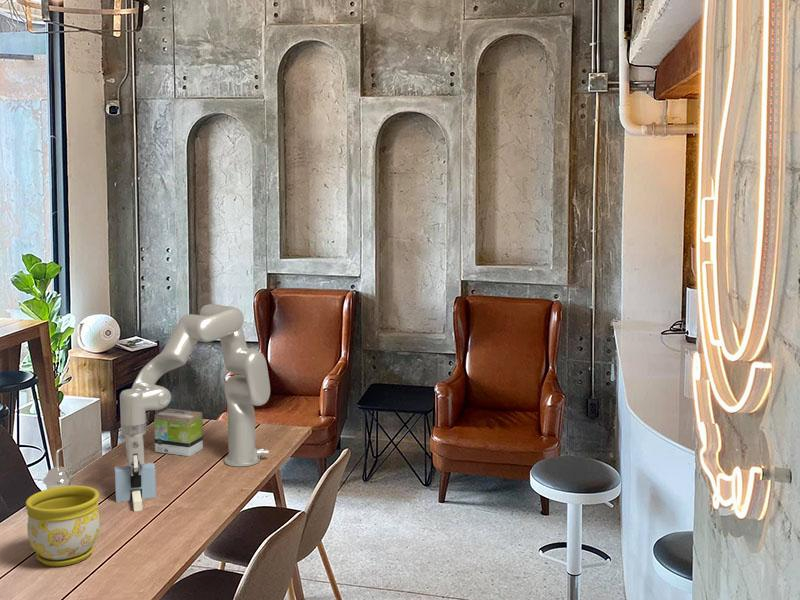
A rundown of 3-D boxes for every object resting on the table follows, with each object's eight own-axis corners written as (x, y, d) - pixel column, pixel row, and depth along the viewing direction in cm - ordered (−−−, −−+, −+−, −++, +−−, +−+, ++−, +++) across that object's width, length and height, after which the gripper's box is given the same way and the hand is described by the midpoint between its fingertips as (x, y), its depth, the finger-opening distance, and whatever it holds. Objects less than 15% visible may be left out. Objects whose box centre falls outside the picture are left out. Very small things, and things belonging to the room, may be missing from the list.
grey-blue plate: (155, 492, 266) (154, 462, 265) (156, 497, 262) (155, 467, 260) (115, 497, 262) (114, 466, 260) (116, 502, 257) (115, 471, 256)
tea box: (154, 453, 306) (152, 414, 304) (169, 445, 316) (168, 407, 314) (189, 457, 302) (188, 417, 300) (204, 449, 311) (203, 411, 309)
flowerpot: (79, 536, 232) (76, 480, 230) (114, 554, 221) (112, 495, 218) (15, 557, 218) (12, 498, 216) (50, 578, 207) (47, 515, 205)
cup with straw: (40, 510, 250) (37, 446, 248) (71, 503, 256) (68, 441, 254) (49, 518, 244) (46, 453, 241) (80, 511, 250) (77, 447, 247)
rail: (137, 484, 273) (137, 475, 273) (142, 510, 251) (142, 501, 250) (129, 485, 272) (129, 476, 272) (134, 511, 250) (133, 502, 250)
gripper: (148, 434, 252) (149, 491, 254) (144, 420, 268) (146, 473, 270) (122, 437, 249) (124, 494, 252) (119, 422, 265) (121, 476, 268)
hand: (135, 483), depth 261 cm, fingers open, 5 cm apart
